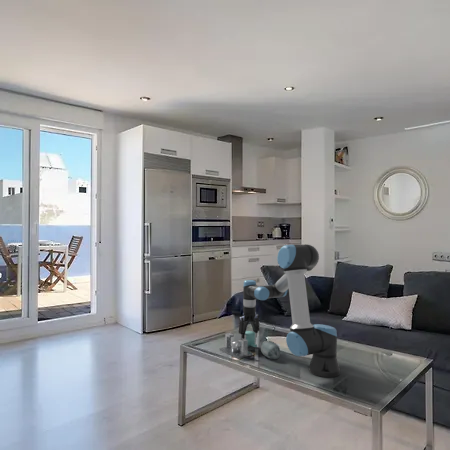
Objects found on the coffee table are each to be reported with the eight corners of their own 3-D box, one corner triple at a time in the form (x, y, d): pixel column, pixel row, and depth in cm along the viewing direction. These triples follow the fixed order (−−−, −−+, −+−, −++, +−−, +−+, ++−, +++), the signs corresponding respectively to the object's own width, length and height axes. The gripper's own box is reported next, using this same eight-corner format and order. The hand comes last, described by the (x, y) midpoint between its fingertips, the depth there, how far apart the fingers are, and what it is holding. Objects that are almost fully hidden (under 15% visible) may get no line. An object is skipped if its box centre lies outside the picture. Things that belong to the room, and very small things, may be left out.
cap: (260, 346, 225) (260, 334, 225) (251, 348, 221) (251, 336, 221) (246, 340, 236) (246, 329, 236) (237, 342, 232) (238, 330, 232)
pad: (258, 348, 227) (258, 347, 227) (247, 350, 223) (247, 349, 223) (250, 344, 234) (250, 343, 234) (239, 346, 229) (239, 345, 229)
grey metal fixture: (253, 355, 215) (253, 339, 215) (237, 358, 208) (237, 342, 208) (234, 346, 229) (234, 331, 229) (219, 349, 223) (219, 334, 223)
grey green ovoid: (286, 354, 207) (276, 337, 208) (272, 363, 204) (262, 347, 205) (277, 352, 220) (268, 337, 221) (264, 361, 217) (255, 345, 218)
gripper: (258, 303, 237) (257, 340, 237) (232, 306, 226) (232, 345, 226) (266, 305, 231) (265, 343, 231) (240, 309, 220) (239, 348, 219)
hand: (249, 344), depth 228 cm, fingers closed on cap, 7 cm apart
